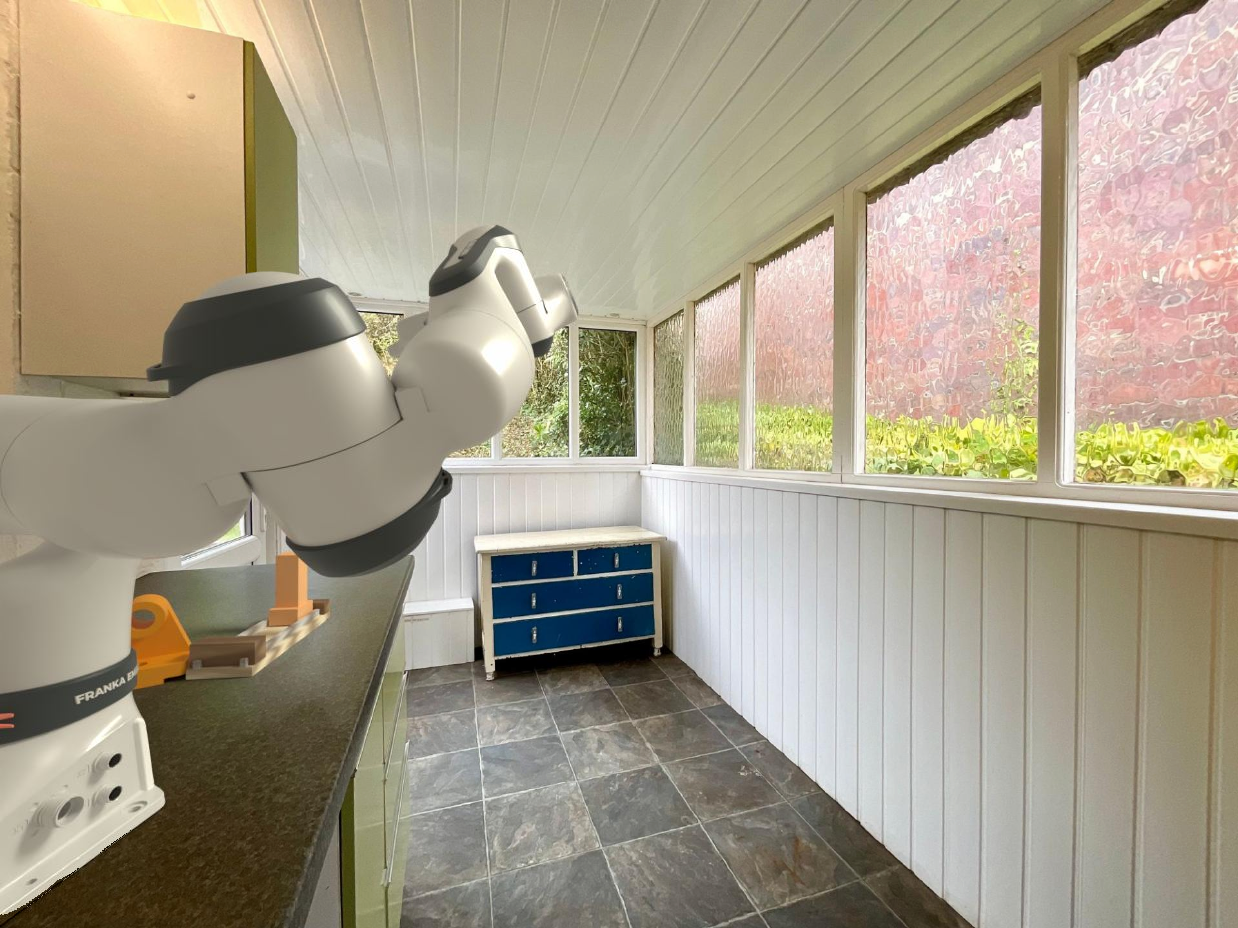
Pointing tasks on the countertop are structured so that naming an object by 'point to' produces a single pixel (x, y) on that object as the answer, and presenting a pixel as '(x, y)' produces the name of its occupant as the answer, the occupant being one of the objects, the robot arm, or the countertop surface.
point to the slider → (290, 591)
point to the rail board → (269, 654)
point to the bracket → (158, 642)
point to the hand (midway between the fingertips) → (409, 359)
